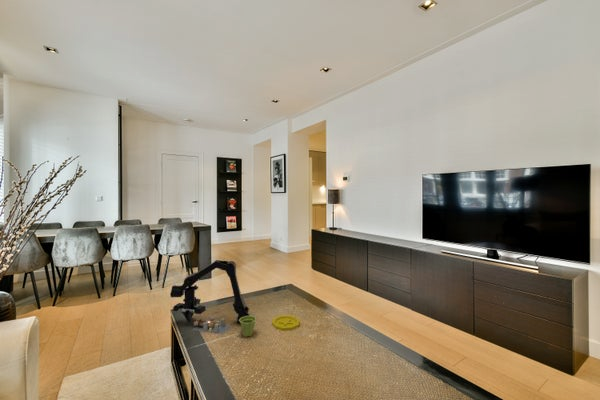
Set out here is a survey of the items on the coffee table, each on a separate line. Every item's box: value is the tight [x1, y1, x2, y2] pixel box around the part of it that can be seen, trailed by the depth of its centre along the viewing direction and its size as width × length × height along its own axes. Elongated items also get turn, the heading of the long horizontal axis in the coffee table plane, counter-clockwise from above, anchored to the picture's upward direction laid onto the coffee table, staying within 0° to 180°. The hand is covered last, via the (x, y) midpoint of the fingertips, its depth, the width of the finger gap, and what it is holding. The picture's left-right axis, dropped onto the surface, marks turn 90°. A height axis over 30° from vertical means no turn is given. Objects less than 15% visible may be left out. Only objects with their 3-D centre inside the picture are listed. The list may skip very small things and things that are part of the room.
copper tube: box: [193, 318, 216, 329], centre depth 158 cm, size 12×4×4 cm, turn 77°
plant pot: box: [239, 315, 257, 338], centre depth 153 cm, size 9×9×9 cm
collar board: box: [192, 316, 232, 335], centre depth 157 cm, size 20×10×6 cm, turn 77°
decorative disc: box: [271, 314, 301, 332], centre depth 167 cm, size 17×18×2 cm
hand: (189, 322), depth 161 cm, fingers closed
